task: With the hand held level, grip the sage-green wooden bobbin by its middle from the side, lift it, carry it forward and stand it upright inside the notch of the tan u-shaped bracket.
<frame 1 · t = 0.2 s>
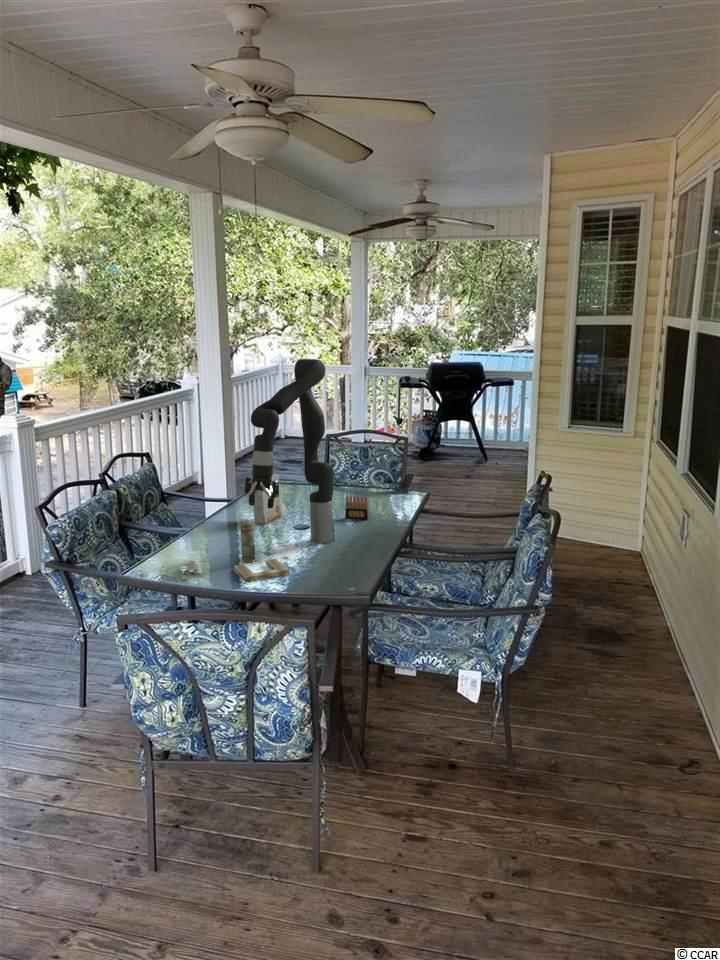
hand: (260, 506, 260), 23 cm above the table, tool pointing down, fingers open, 8 cm apart
cracker box: (267, 520, 325), on the table
bobbin: (248, 560, 270), on the table
white curved piece: (193, 570, 263), on the table
tan u-shaped bracket: (261, 573, 257), on the table
ammunition clip: (356, 519, 325), on the table
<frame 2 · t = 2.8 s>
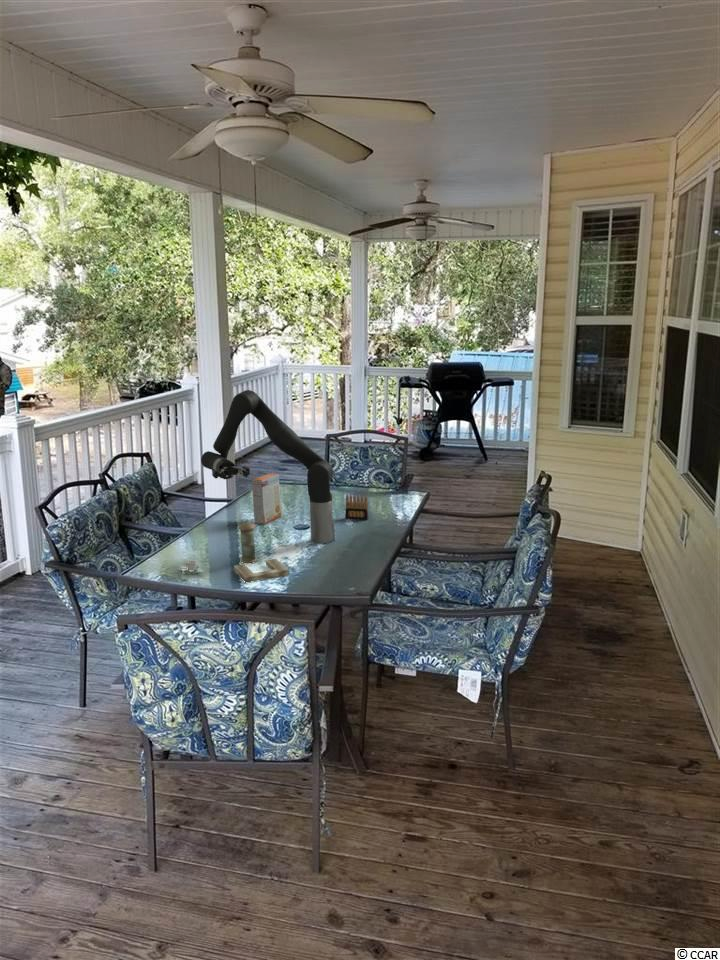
hand: (236, 475, 273), 32 cm above the table, tool horizontal, fingers open, 8 cm apart
nothing on the table moved.
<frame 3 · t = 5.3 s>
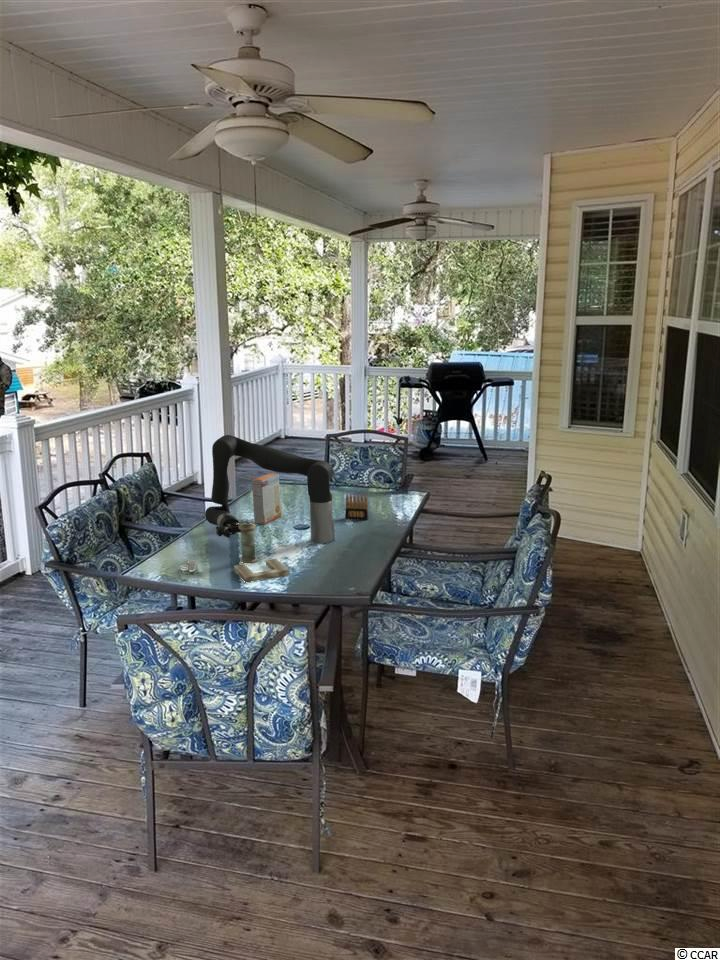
hand: (239, 533, 278), 8 cm above the table, tool horizontal, fingers open, 8 cm apart
nothing on the table moved.
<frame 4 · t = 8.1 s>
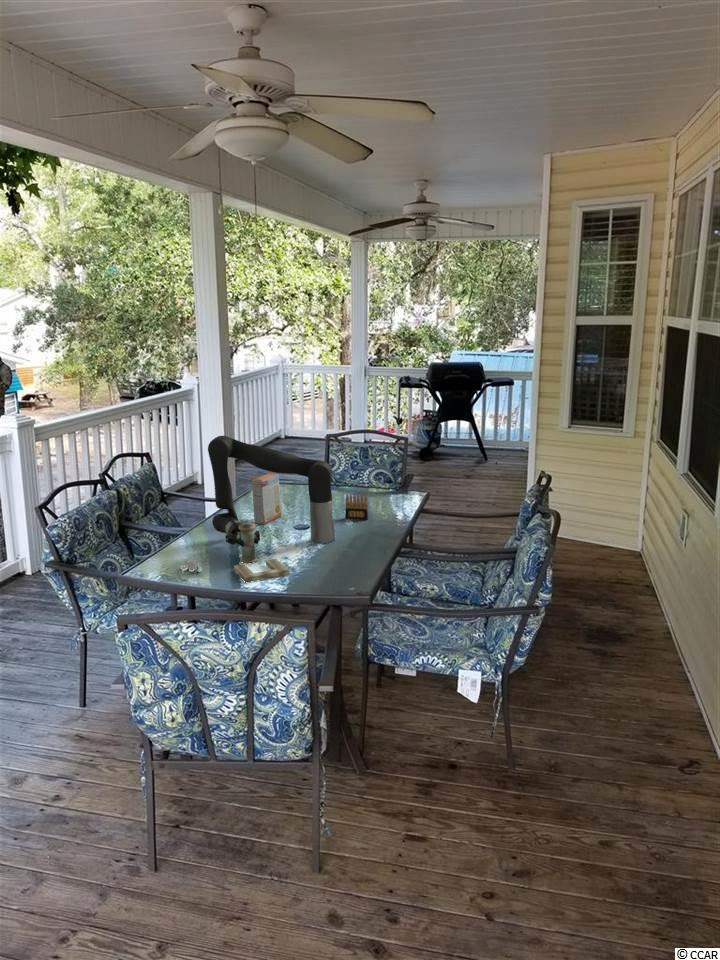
hand: (249, 542, 266), 8 cm above the table, tool horizontal, fingers closed on bobbin, 5 cm apart
bobbin: (248, 560, 270), on the table, touching gripper
everything else where it was.
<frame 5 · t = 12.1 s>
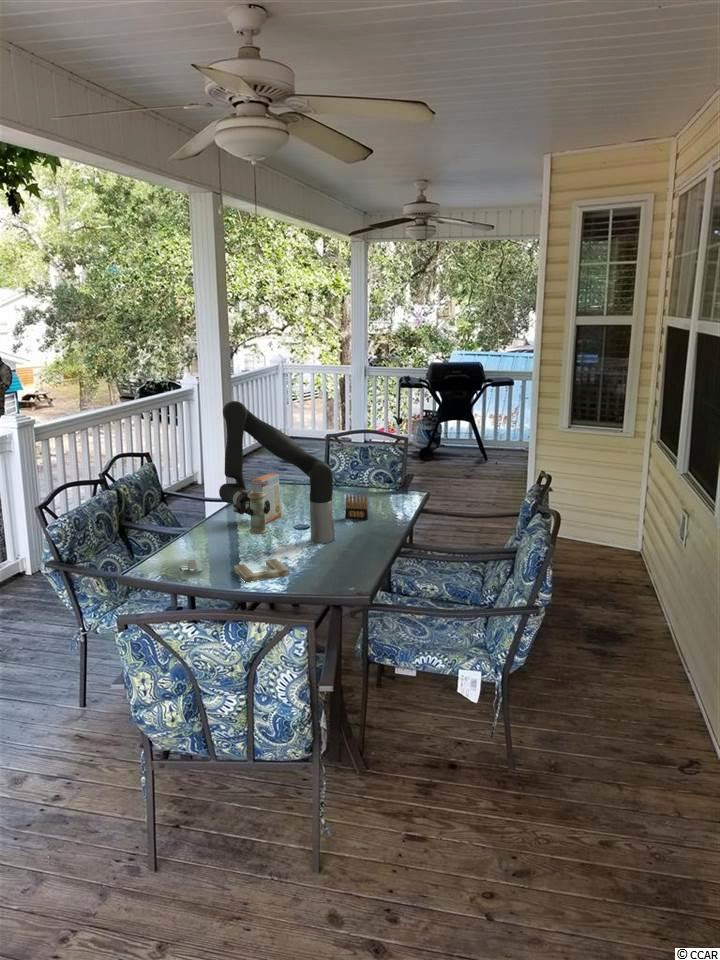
hand: (259, 512, 250), 23 cm above the table, tool horizontal, fingers closed on bobbin, 5 cm apart
bobbin: (258, 531, 254), point 16 cm above the table, touching gripper
when the fingers open (9 cm above the table, at t = 16.1 s): bobbin drops 1 cm, resting in tan u-shaped bracket.
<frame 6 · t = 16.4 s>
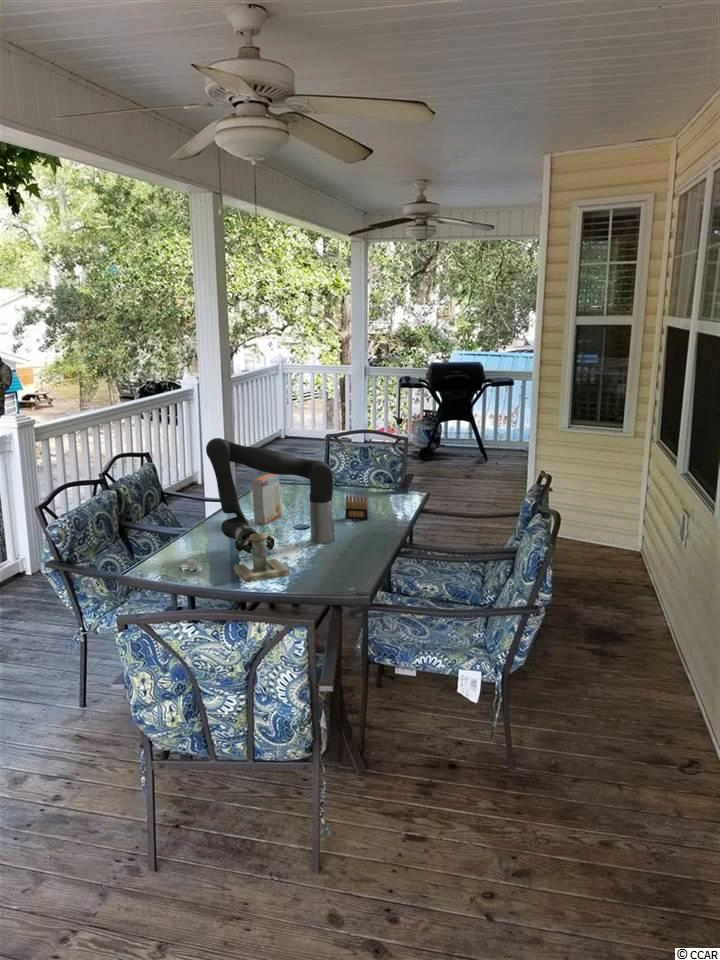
hand: (261, 549, 254), 10 cm above the table, tool horizontal, fingers open, 7 cm apart
bobbin: (260, 572, 258), resting in tan u-shaped bracket
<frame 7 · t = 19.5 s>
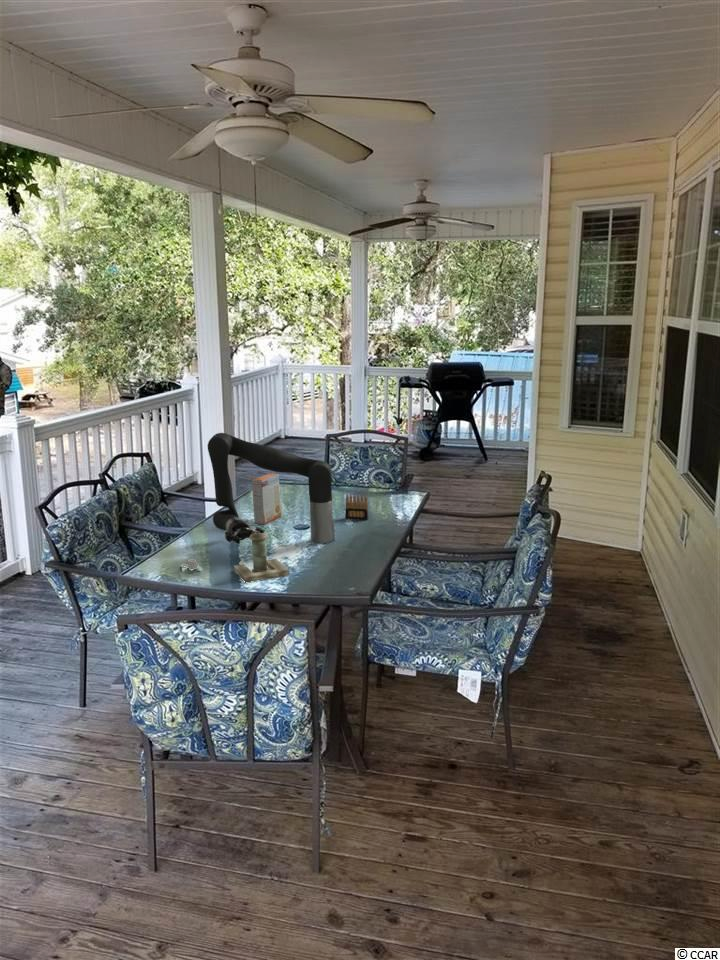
hand: (250, 539, 265), 9 cm above the table, tool horizontal, fingers open, 8 cm apart
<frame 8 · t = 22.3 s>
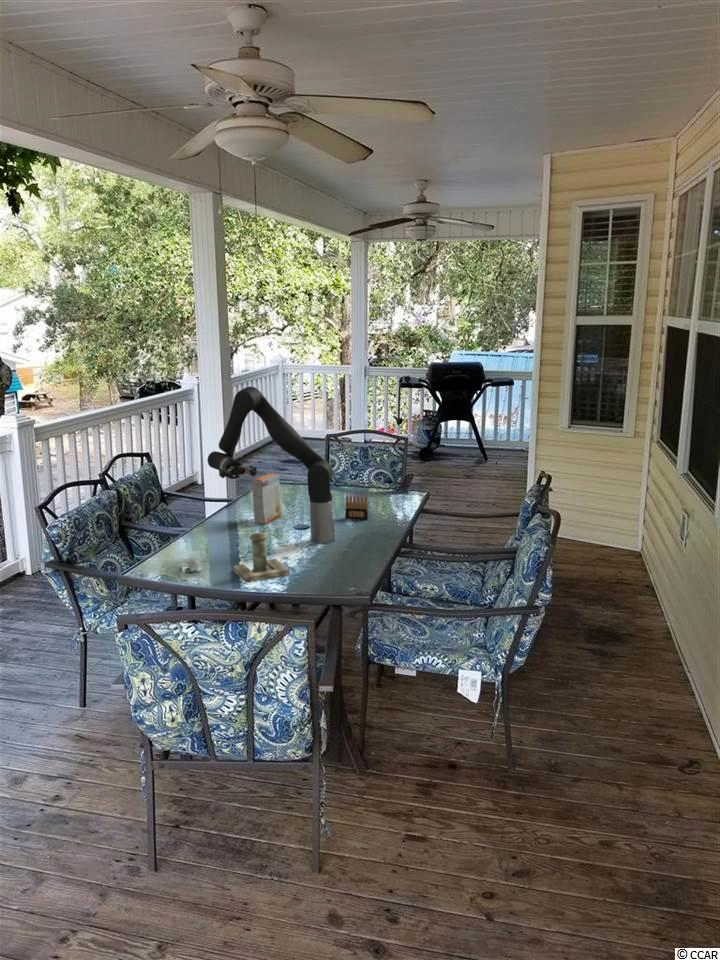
hand: (243, 475, 271), 32 cm above the table, tool horizontal, fingers open, 8 cm apart
at the end: bobbin 0.1 cm from the target spot on the tan u-shaped bracket, point 0.0 cm above the tan u-shaped bracket's base; bobbin tilted 0°; the gripper is holding nothing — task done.
